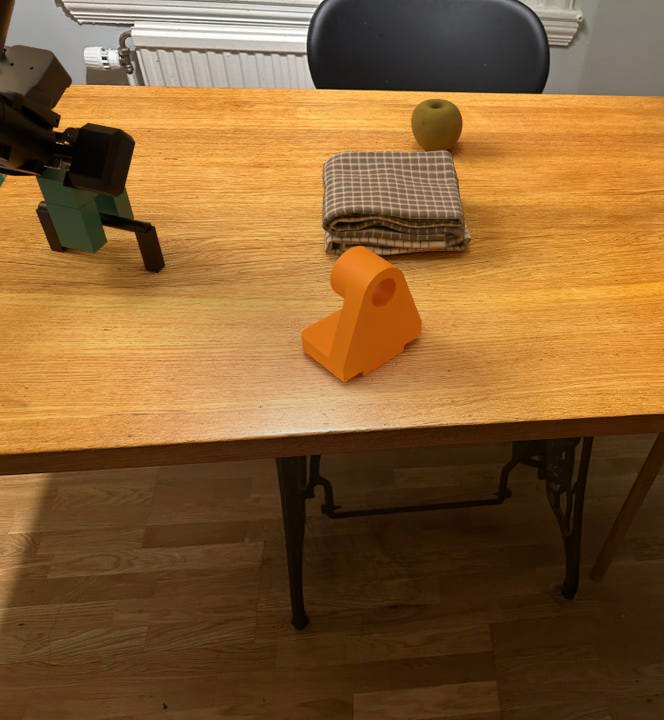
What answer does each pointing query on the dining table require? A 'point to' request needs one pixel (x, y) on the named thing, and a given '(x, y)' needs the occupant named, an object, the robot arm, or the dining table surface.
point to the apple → (436, 124)
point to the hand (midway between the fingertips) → (90, 174)
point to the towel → (392, 203)
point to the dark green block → (79, 211)
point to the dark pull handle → (142, 230)
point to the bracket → (364, 316)
